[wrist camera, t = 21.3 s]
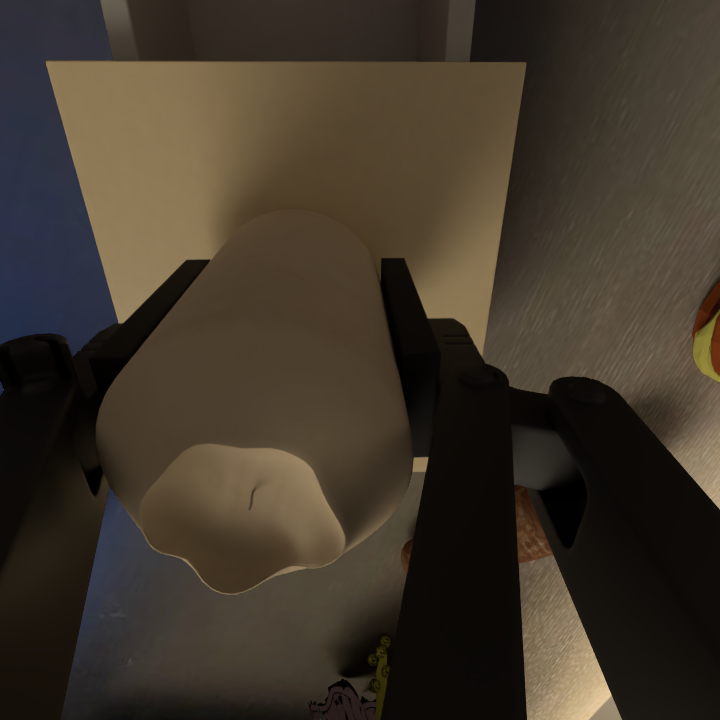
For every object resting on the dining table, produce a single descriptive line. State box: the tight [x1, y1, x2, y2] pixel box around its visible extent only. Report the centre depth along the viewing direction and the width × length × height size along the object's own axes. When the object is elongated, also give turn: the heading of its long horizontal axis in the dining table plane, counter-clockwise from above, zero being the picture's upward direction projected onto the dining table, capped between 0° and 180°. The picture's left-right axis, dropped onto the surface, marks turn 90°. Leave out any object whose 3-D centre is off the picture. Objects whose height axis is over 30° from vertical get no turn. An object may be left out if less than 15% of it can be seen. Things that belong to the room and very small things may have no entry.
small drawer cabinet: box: [46, 60, 526, 472], centre depth 21 cm, size 16×14×10 cm
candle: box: [96, 209, 414, 595], centre depth 11 cm, size 6×6×10 cm
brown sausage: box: [401, 485, 553, 574], centre depth 33 cm, size 6×19×6 cm, turn 121°
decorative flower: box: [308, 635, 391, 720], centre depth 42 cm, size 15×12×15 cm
